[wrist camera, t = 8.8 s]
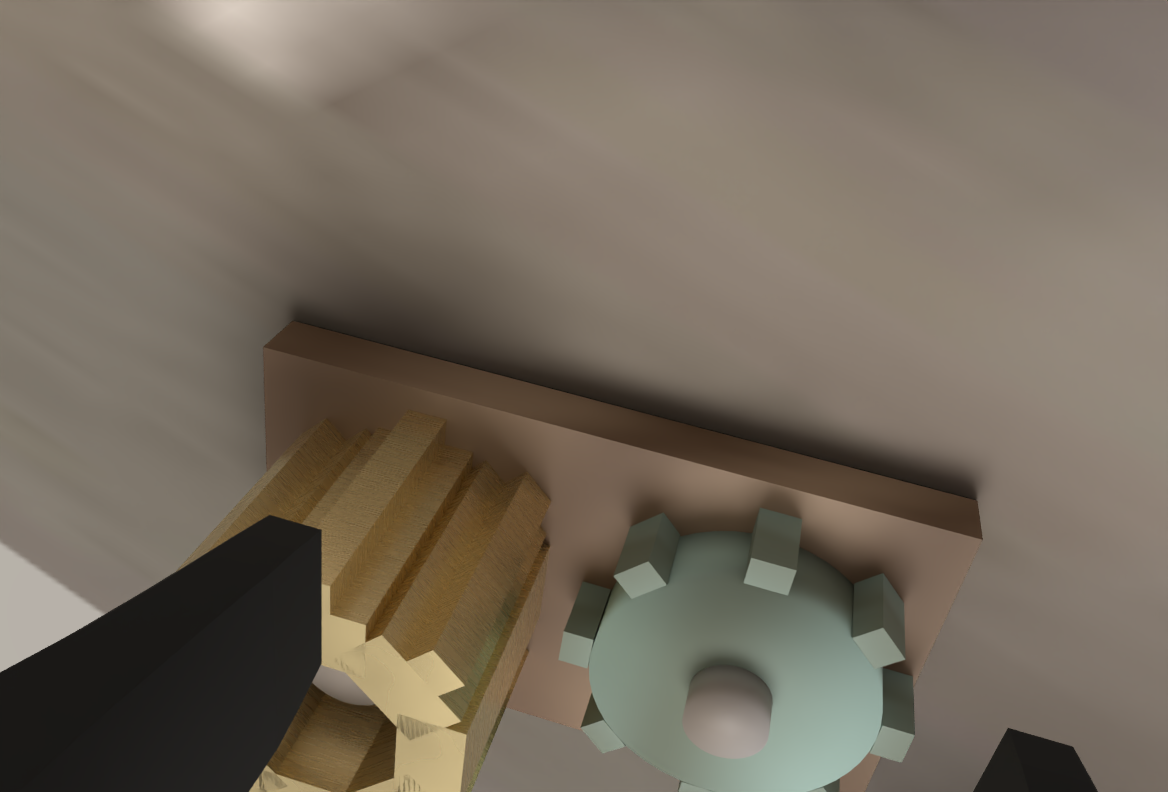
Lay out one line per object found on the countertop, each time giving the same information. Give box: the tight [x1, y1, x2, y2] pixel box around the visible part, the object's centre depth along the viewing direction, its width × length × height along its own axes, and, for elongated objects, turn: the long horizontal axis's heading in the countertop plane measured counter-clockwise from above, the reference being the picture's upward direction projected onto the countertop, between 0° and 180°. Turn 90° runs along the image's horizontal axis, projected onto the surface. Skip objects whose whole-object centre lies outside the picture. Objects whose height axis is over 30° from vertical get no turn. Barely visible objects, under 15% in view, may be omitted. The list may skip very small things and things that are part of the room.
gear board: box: [263, 321, 983, 792], centre depth 20 cm, size 14×8×5 cm, turn 81°
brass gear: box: [177, 409, 551, 792], centre depth 20 cm, size 6×7×5 cm
